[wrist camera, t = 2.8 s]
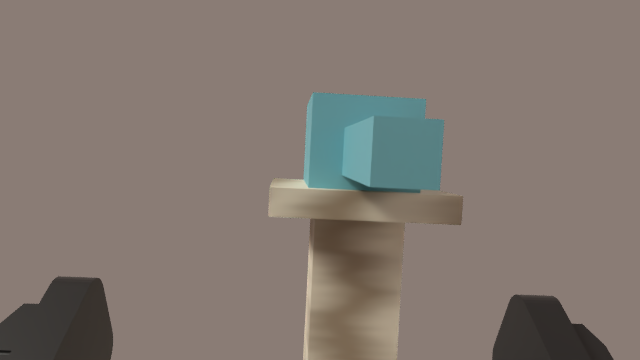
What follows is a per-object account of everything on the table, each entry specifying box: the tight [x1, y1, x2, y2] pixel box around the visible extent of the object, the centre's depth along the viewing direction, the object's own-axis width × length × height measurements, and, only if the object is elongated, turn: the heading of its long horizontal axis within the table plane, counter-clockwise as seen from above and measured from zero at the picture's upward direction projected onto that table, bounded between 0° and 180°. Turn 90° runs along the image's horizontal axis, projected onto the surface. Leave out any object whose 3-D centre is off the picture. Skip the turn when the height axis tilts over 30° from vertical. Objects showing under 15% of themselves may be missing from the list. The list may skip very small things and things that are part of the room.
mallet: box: [304, 92, 444, 193], centre depth 27 cm, size 6×18×5 cm, turn 4°
